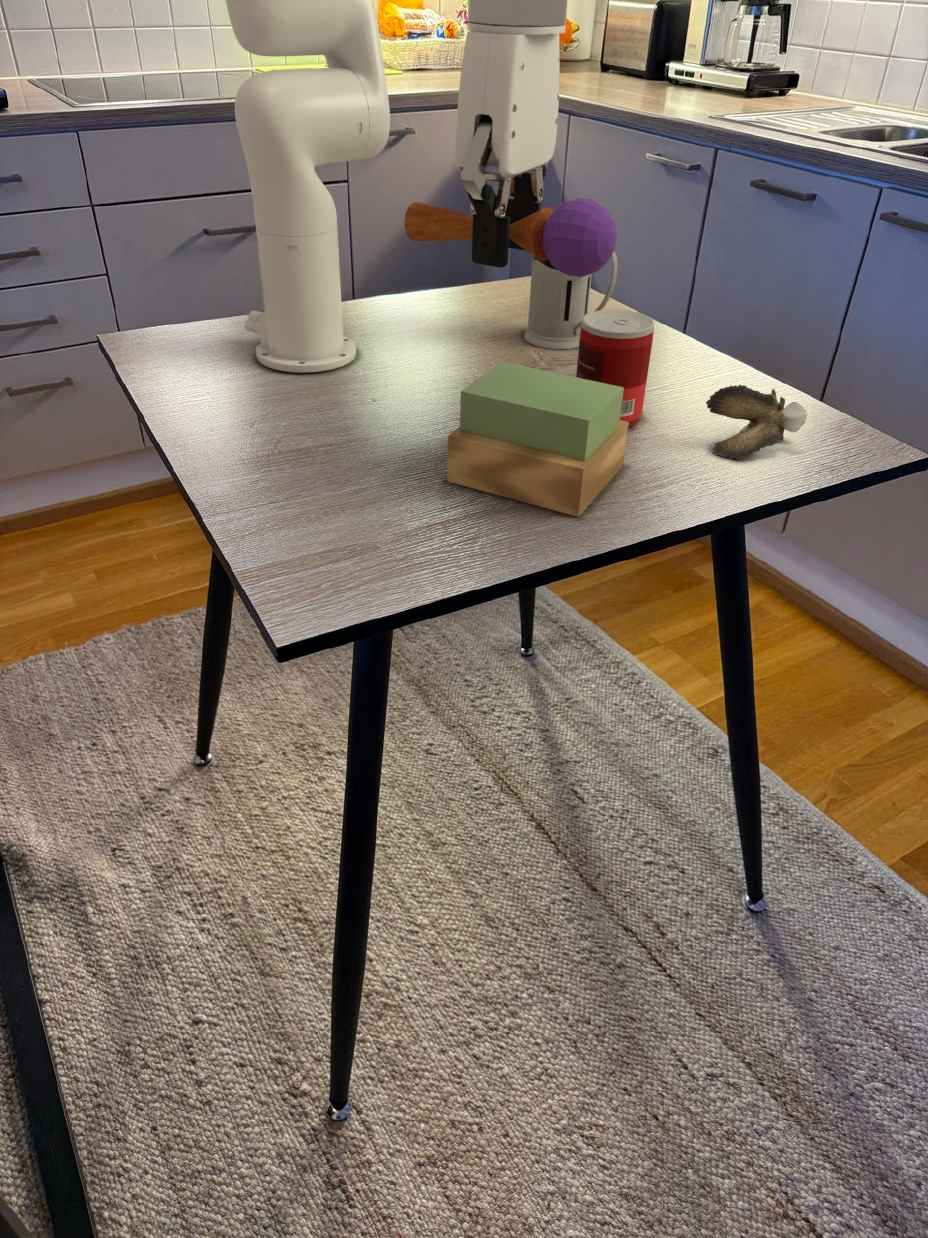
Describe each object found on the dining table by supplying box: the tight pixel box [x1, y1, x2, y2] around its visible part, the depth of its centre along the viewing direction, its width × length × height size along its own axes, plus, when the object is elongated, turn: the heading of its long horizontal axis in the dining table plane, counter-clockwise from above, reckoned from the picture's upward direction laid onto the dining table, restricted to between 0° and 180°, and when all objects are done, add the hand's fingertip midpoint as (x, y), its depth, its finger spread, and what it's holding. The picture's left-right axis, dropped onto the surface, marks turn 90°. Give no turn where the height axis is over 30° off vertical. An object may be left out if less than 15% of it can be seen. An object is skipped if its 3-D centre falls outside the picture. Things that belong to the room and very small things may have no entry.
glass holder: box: [523, 251, 619, 350], centre depth 121 cm, size 9×14×15 cm, turn 36°
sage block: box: [459, 361, 624, 461], centre depth 90 cm, size 13×9×4 cm
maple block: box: [446, 420, 629, 518], centre depth 93 cm, size 14×12×5 cm
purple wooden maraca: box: [403, 197, 618, 277], centre depth 81 cm, size 6×6×20 cm
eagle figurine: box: [705, 384, 808, 459], centre depth 99 cm, size 8×7×9 cm
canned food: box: [575, 308, 655, 428], centre depth 103 cm, size 8×8×11 cm
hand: (505, 254), depth 82 cm, fingers closed on purple wooden maraca, 5 cm apart
